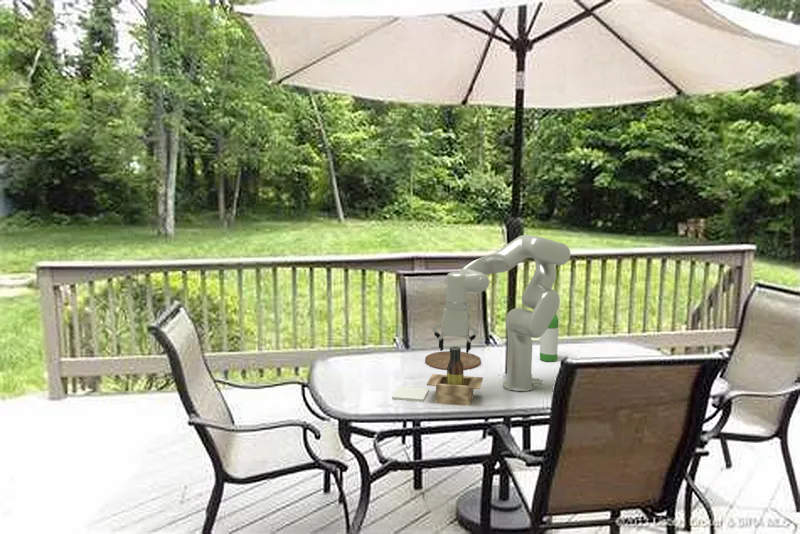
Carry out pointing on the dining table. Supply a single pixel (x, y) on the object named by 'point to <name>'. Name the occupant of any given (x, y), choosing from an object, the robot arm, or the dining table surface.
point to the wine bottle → (549, 342)
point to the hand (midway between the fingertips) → (454, 350)
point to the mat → (410, 394)
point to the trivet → (443, 358)
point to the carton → (454, 389)
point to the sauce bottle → (455, 367)
